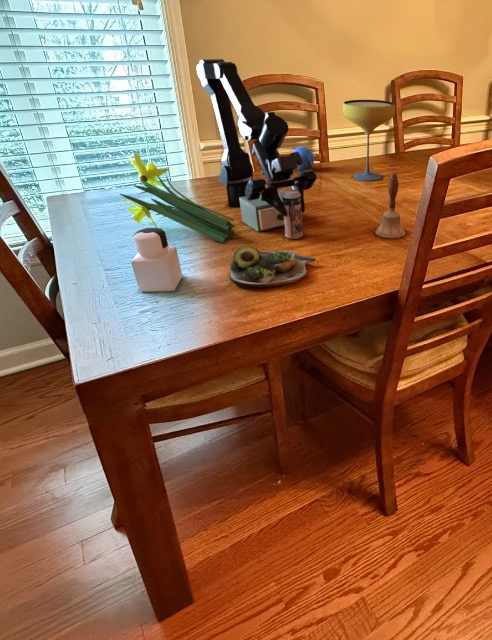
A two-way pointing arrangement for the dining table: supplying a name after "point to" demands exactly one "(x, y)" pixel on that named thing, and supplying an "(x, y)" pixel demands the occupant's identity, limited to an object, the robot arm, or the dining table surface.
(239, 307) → the dining table surface
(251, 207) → the drawer box
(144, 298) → the dining table surface
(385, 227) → the hand bell
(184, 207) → the daffodil flowers
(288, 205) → the beer can
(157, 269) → the pink block figurine
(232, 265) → the avocado toast plate
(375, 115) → the cocktail glass
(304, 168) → the blue mole toy
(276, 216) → the drawer
